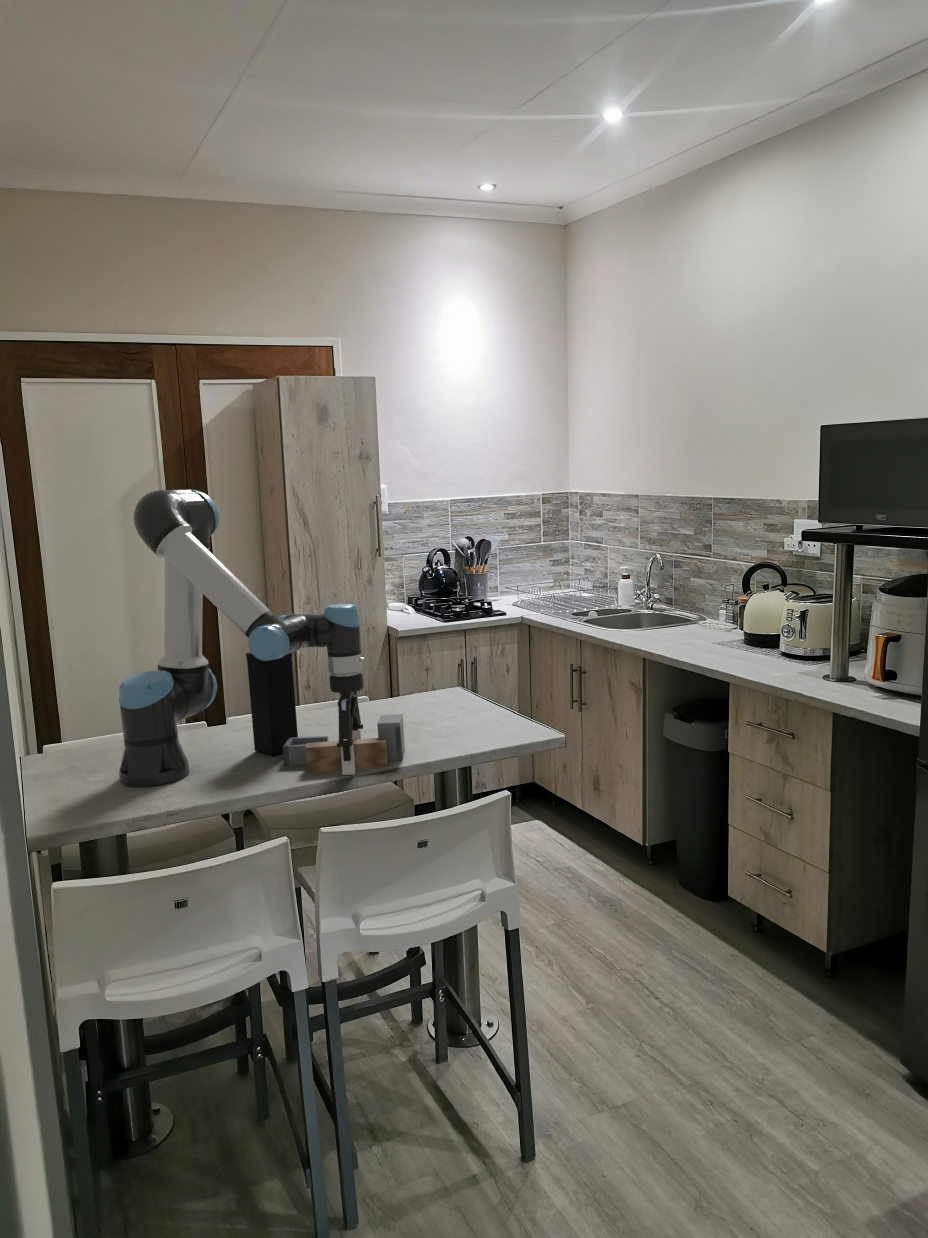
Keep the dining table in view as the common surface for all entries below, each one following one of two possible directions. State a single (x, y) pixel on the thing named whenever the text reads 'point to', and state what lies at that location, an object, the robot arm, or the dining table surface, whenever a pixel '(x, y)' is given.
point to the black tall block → (272, 703)
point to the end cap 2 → (392, 735)
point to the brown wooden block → (329, 754)
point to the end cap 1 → (299, 749)
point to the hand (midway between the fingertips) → (352, 765)
